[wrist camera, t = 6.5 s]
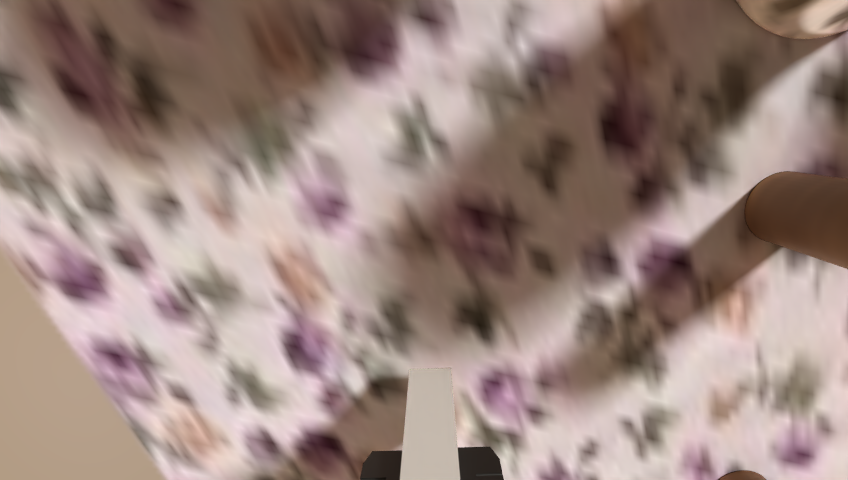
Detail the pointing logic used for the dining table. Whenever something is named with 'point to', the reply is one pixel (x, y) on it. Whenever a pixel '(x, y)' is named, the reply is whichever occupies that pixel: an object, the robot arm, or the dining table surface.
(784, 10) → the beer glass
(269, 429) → the dining table surface
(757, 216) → the inner post
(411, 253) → the dining table surface
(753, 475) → the outer post
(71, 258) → the dining table surface
